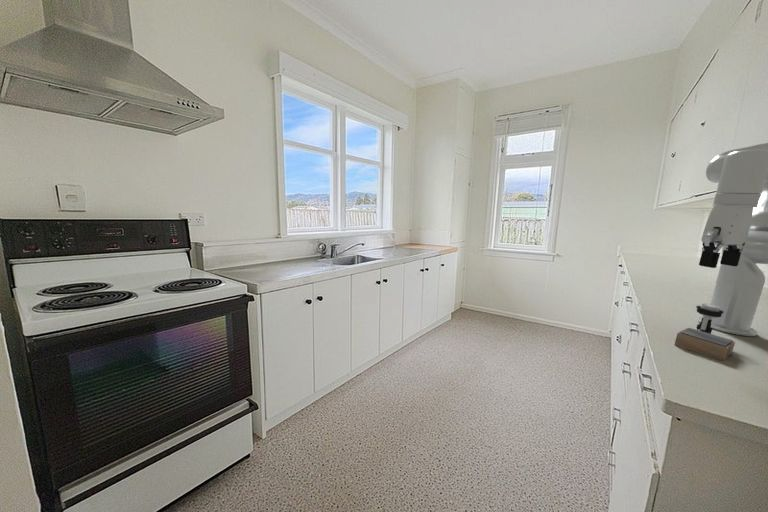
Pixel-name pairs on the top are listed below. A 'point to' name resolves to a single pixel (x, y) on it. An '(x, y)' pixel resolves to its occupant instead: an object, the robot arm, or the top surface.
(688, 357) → the top surface
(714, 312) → the push button
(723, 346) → the stand
